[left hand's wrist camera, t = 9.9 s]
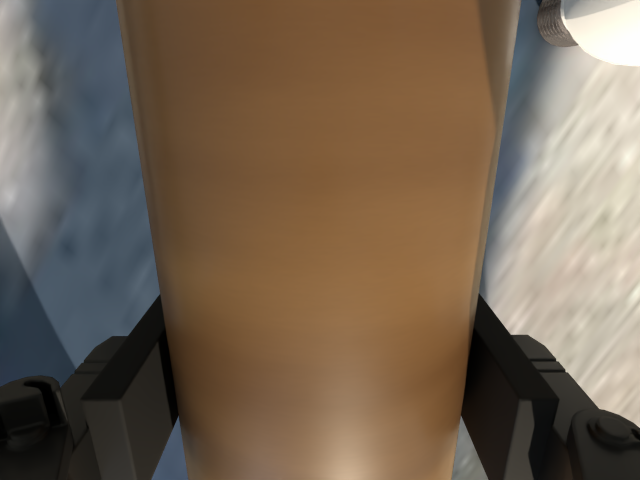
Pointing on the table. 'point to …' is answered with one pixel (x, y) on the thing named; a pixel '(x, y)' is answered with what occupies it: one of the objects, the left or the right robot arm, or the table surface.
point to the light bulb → (594, 27)
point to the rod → (319, 222)
